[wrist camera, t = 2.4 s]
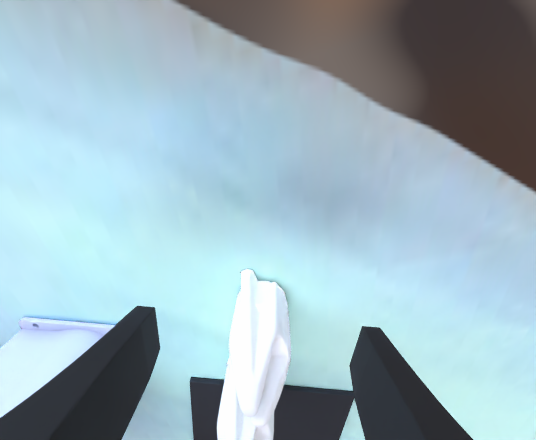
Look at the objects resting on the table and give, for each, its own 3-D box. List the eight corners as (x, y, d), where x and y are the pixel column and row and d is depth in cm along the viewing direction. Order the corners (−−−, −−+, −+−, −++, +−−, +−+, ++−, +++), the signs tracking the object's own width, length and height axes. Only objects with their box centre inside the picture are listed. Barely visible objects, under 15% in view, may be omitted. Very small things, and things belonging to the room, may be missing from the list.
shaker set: (270, 374, 27) (265, 547, 17) (226, 368, 27) (196, 539, 17) (294, 275, 21) (307, 442, 12) (240, 267, 21) (206, 430, 11)
